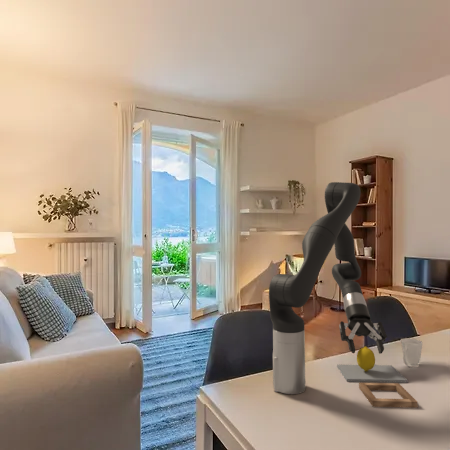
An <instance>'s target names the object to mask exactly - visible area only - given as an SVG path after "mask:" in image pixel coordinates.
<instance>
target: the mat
mask: <svg viewBox="0 0 450 450" xmlns="http://www.w3.org/2000/svg"><path fill="white" fill-rule="evenodd" d="M336 367H337V369H338V370H340V374H341V373H342V374H341V375H342V376H344V377H343V379H345V382H349V383H351V382H353V383H354V382H356V383H408V379H407V378H406V377H405V376H404V375H403V374H402V373H401V372H400V371H398V370H397V368H395V367H394V366H393V365H392V364H388V365H387V364H375V365H374V367H373V368H372V369H371V370H368V371H367V372H366V371H364V369H362V368H360V366H359V365H358V364H337V365H336Z"/></svg>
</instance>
